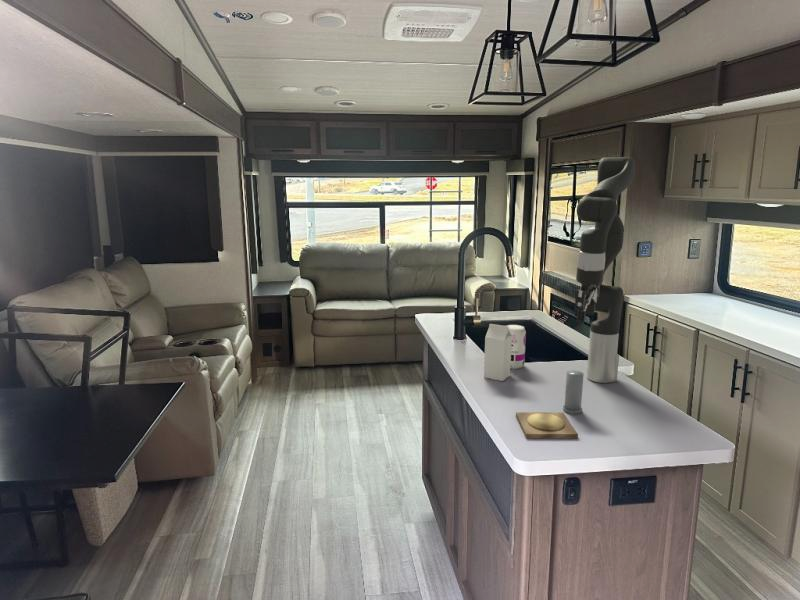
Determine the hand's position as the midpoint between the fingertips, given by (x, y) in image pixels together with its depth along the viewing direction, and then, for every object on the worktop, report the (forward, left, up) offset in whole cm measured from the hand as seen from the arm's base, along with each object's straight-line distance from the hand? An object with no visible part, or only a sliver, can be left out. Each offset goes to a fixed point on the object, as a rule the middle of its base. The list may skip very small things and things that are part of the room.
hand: (585, 318), depth 164 cm
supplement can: (+14, -36, -28) cm, 47 cm away
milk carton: (+22, -24, -28) cm, 42 cm away
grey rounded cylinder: (+4, +5, -28) cm, 28 cm away
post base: (+15, +16, -28) cm, 35 cm away
